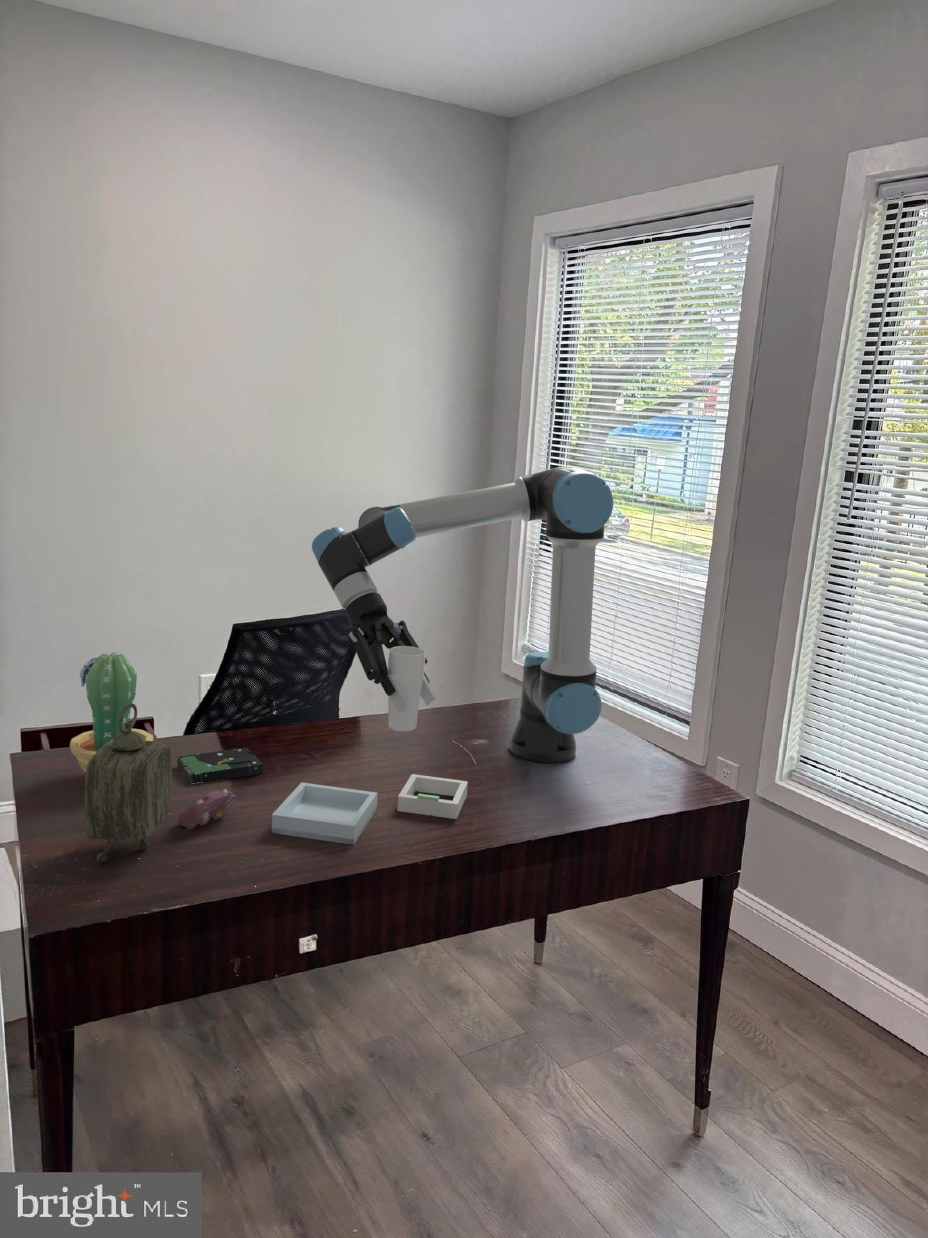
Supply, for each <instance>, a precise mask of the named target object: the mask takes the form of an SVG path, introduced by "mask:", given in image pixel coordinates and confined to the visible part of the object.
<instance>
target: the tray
mask: <svg viewBox="0 0 928 1238" xmlns="http://www.w3.org/2000/svg"><path fill="white" fill-rule="evenodd" d="M378 793H379V792H375V791H368V790H362V789H361V790H360V789H354V788H353V789H352V788H346V787H345V788H344V787H339V786H332V785H331V786H330V785H323V784H315V783H308V782H300V783H299V784H298V785H297V787H295V789H294V790H293V791H292V792H291V793H290V794H289V795H288V796H287V798H286V799H285V800H284V801H283V802H282V803H281V804H280V805H279V807H277V809H275V810H274V812H273V813H272V814H271V834H276V835H284V836H291V837H298V838H303V839H311V840H318V841H324V842H331V843H337V844H338V843H339V844H346V845H351V844H352V846H354V845H355V844H356V842H357V841H358V840H359V838H360V836H361V835H362V833H363V832H364V830H366V827H367V826H368V824H369V822H370V821H371V820H372V818H373V816H374V814H376V812H377V811H378Z"/></svg>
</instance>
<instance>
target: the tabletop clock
mask: <svg viewBox="0 0 928 1238" xmlns="http://www.w3.org/2000/svg"><path fill="white" fill-rule="evenodd" d="M130 708H131V709H133V711H134V712H133V713H134V714H133V718H132V720H131V721H130V720H129V721H128V722H126V723H125V729H122V726H121V725H122V720H123V717H124V715H125V713H126V712H127V711H128V710H129V709H130ZM137 717H138V709H137V705H136V704H135V703H134V702H133V703H131V704H128V705H127V706H126V707H125V708H124V709H123V710H122V712H121V714H120V717H119V725H118V726H119V730H120V732H121V733H118V734H117V735H116V736H115V738H114V739H112V740H110V741H109V742H107V743H106V744H104V745H103V746H102V747H101V748H100V749H99V750H98V751H97V752H96V753H95V754H94V755H93V756H92V758H91V759H90V761H89V763H88V765H87V768H86V773H85V778H84V815H85V829H86V834H87V838H88V839H92V840H102V841H107V844H106V845H105V848H104V850H103V852H100V853H98V854H97V856H96V860H97V862H98V863H99V864H104V863H106V862H107V860H108V855H107V854H108V852H109V850H110V849H111V848H112V847H113V845H114V844H115V842H127V843H137V842H139V843H138V848H139V850H141V851H146V850H148V848H149V842H148V841H147V840H145V839H146V838H148V837H150V836H151V835H153V834H154V832H156V830H157V829H158V828H159V827H160V826H161V824H162V823H163V822H164V820H165V819H166V817H167V816H168V814H169V811H170V810H171V809H170V808H171V801H172V755H171V754H172V753H171V748H170V747H168V746H167V745H166V744H164V743H163V742H161V741H156V740H153V741H144V738H143V737H142V735H141V734H139V733H138V732H136V731H132V729H133V727H134V726H135V724H136V722H137Z"/></svg>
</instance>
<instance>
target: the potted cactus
mask: <svg viewBox="0 0 928 1238" xmlns="http://www.w3.org/2000/svg"><path fill="white" fill-rule="evenodd" d="M137 676H138V674H137V672H136V670H135V669H134V667H133V666H132V664H131V662H129V660H128V659H127V658H126V657H125V655H124V654H123V653H120V654H117V652H111V653H110V654H107V653H106V652H105V653H104V652H102V653H101V655H98V656H97V657H92V658H90V659H89V661H88V660H87V662H86V663H84V665H83V666H82V668H81V669H80V673H79V678H81V679H80V682H81V687H85V686H86V687H85V689H86V698H87V701H88V703H89V707H90V708H91V713H92V715H91V716H92V730H89V731H84V732H82V733H80V734H78V735H76V736H74V737H73V738H71V739H70V742H69V749H70V751H71V754H72V755H73V756H75V757H76V760H77V761H78V764H79V766H80V768H81V769H82V770H83V772H84V773H85V774H86V768H87V765H88V763H89V761H90V759H91V758H92V756H93V755H94V754H95V753H96V752H97V751H98V750H99V749H100V748H101V747H102V746H103V745H104V744H106V743H107V742H109V741H110V740H112V739H114V738H115V736H116V735H117V734H118V733H121V732H120V730H119V726H118V725H119V717H120V714H121V712H122V710H123V709H124V708H125V707H126V706H127V705H128V704H131V703H133V704H134V700H135V697H136V694H137V678H138V677H137ZM131 709H132V707H131V708H130V709H129V710H128V711H127V712H126V713H125V715H124V717H123V720H122V725H121V726H122V729H125V723H126V722H128V721H129V722H130V717H131V711H132V710H131ZM132 731H136V732H138V733H139V734H141V735H142V737H143V738H144V741H154V735H153V734H151V733H149V732H148V731H146V730H143V729H140V728H139V729H138V728H132Z"/></svg>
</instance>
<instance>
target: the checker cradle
mask: <svg viewBox="0 0 928 1238" xmlns="http://www.w3.org/2000/svg"><path fill="white" fill-rule="evenodd" d="M468 784H469V781H468V780H467V781H466V780H459V779H452V778H444V777H436V776H428V775H421V774H414V773H412V774H411V775H410V776H409V778H408V780H407V782H405V784H404V786H403V788H402V789H401V791H400V793H399V794H398V796H397V809H396V810H397V812H402V813H403V812H404V813H411V814H417V815H425V816H430V815H431V817H437V818H439V817H440V818H446V819H452V820H457V819H458V817H459V814H460V812H461V809H462V808H463V805H464V803H465V801H466V799H467V796H468ZM416 792H419V793H418V794H417V795H415V793H416ZM424 793H426V794H424ZM430 794H431V795H430ZM434 794H435V795H434ZM439 795H441V796H449V797H453V799H452V800H451V799H450V800H449V799H442V798H441V799H440V796H439Z"/></svg>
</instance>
